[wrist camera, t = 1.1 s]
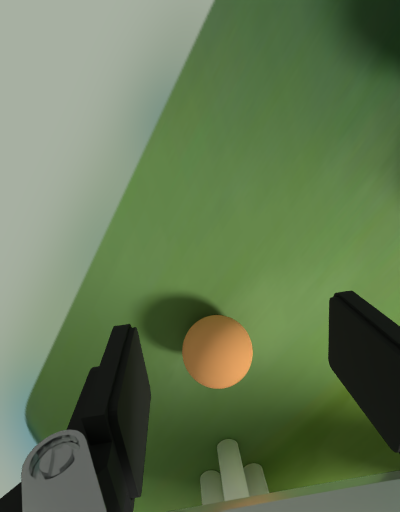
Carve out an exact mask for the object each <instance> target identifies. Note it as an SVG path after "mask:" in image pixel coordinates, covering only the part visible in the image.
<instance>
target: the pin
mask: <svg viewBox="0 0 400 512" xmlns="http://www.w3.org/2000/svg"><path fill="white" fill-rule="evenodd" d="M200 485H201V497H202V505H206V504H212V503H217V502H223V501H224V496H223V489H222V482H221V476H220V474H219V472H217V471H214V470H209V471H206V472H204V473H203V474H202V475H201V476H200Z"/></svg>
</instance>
